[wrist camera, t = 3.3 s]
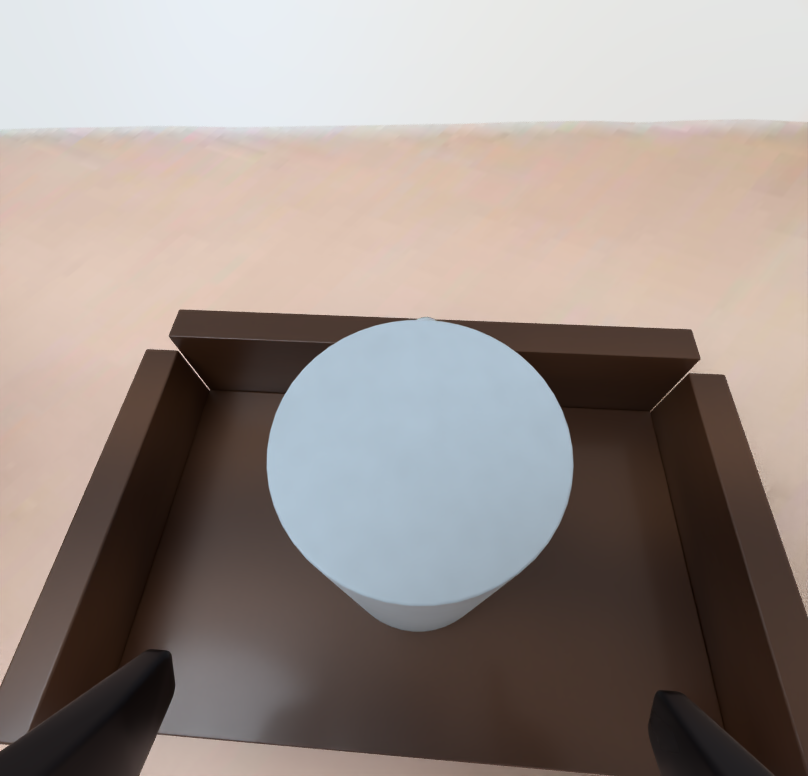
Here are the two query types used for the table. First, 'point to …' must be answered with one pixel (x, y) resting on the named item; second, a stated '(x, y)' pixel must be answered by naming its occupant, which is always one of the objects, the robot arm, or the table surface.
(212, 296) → the table surface
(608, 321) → the table surface
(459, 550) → the pale blue cylinder
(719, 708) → the tray
